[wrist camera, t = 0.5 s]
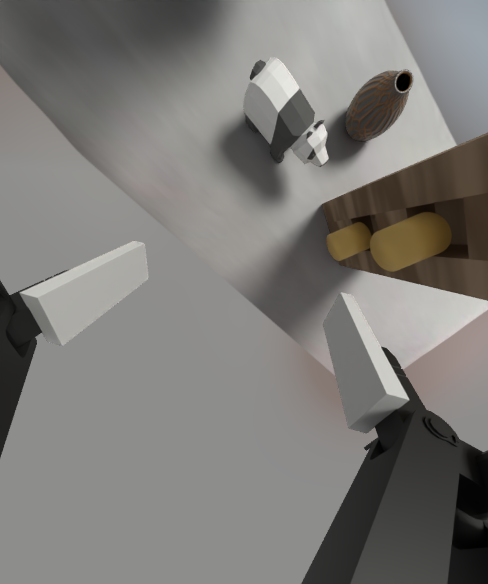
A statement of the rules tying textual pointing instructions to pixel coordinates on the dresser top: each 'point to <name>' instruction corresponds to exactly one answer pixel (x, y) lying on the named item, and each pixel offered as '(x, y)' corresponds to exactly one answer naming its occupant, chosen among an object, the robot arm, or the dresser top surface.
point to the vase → (378, 104)
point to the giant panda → (283, 114)
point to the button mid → (410, 241)
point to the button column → (428, 198)
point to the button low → (349, 241)
